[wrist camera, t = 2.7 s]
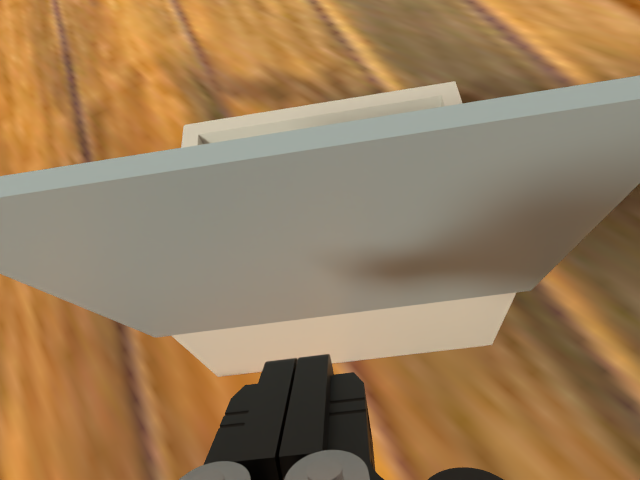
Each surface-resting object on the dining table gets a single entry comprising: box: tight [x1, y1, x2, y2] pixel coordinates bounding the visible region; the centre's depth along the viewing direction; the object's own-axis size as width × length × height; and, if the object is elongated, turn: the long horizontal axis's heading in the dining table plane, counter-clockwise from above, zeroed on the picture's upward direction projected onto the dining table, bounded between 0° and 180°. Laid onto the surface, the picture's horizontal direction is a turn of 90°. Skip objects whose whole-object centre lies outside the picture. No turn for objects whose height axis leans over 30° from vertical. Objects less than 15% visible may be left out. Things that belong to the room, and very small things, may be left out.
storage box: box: [171, 81, 516, 377], centre depth 35 cm, size 20×16×10 cm
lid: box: [0, 76, 640, 337], centre depth 19 cm, size 21×16×1 cm
